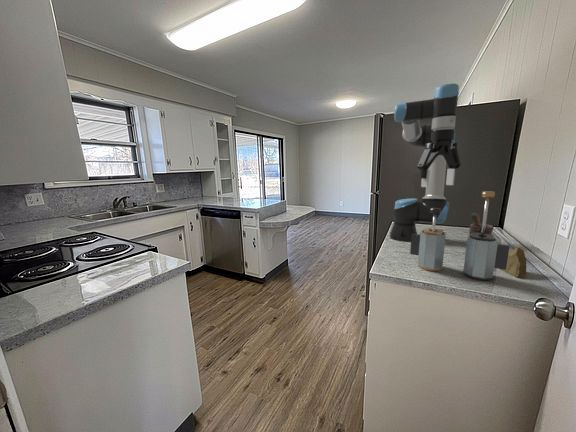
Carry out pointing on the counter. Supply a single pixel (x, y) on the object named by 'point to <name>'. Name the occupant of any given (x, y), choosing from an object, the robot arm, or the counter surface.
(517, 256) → the rock
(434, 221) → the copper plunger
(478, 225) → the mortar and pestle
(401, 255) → the counter surface
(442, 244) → the grey faceted cylinder
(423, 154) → the robot arm
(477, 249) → the gray faceted mug
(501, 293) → the counter surface
